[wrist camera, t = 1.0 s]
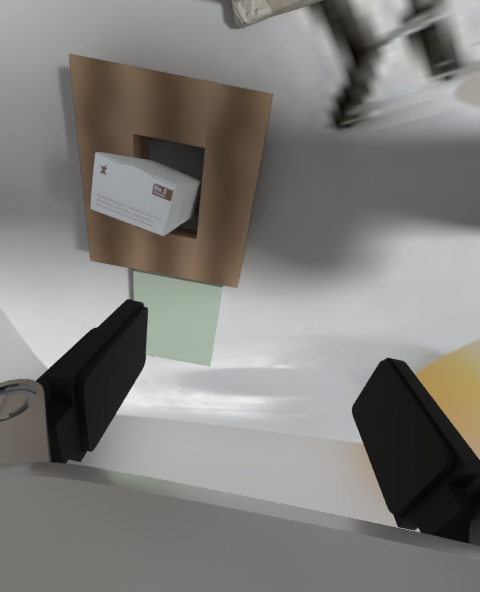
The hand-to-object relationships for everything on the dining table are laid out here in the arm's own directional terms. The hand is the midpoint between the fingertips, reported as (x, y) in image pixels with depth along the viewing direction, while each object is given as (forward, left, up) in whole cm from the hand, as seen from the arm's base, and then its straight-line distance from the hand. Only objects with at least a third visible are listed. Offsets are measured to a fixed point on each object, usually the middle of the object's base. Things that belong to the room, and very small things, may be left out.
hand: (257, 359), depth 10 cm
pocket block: (+10, -3, -23) cm, 26 cm away
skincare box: (+10, -3, -23) cm, 26 cm away
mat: (+9, +15, -23) cm, 29 cm away
